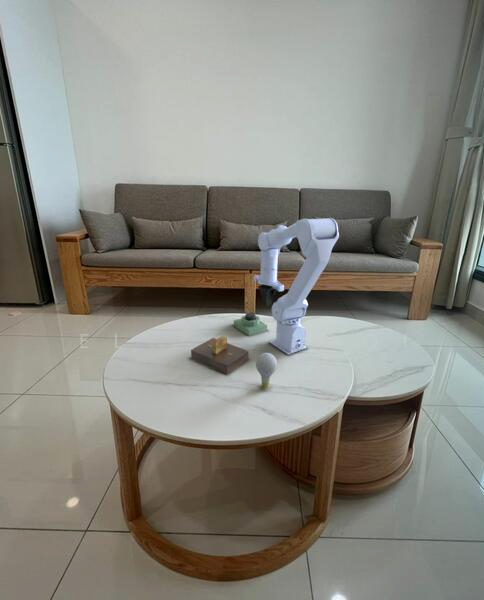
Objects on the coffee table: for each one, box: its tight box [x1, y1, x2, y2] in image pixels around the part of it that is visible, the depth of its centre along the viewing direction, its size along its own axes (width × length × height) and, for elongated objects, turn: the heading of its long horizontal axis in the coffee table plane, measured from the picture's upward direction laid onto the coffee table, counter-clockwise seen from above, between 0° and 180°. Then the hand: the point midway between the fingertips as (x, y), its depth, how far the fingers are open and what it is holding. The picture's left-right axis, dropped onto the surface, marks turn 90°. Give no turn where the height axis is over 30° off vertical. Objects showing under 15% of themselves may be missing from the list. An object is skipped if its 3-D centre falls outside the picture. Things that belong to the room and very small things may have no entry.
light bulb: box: [255, 352, 278, 389], centre depth 83 cm, size 6×6×10 cm
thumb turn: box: [212, 335, 228, 354], centre depth 95 cm, size 5×2×4 cm, turn 145°
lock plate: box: [190, 337, 249, 375], centre depth 97 cm, size 14×10×3 cm
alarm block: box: [233, 314, 268, 337], centre depth 117 cm, size 10×8×4 cm
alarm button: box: [245, 312, 256, 321], centre depth 116 cm, size 4×4×2 cm
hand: (267, 304), depth 115 cm, fingers closed
